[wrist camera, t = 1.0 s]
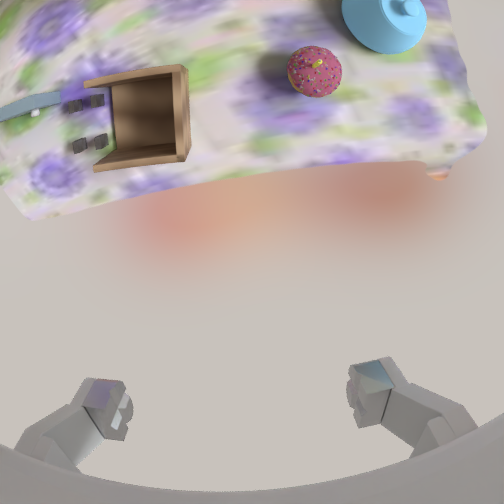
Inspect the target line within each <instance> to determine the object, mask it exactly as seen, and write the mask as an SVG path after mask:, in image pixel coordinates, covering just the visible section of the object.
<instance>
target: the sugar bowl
mask: <svg viewBox="0 0 504 504" xmlns="http://www.w3.org/2000/svg"><path fill="white" fill-rule="evenodd" d="M342 14H343V18H344V20H345V23H346V25H347V27H348V28H349V30H350V31H351V33H352V34H353V35H354V36H355V37H356V38H357V39H358V40H359V41H360V42H361V43H362V44H363V45H365V46H366V47H368V48H370V49H372V50H374V51H376V52H379V53H382V54H398V53H402V52H404V51H406V50H409V49H410V48H412V47H413V46H414V45H416V44H417V42H418V41H419V40H420V39H421V37H422V35H423V33H424V31H425V28H426V21H427V18H426V12H425V9H424V7H423V5H422V3H421V2H420V0H342Z"/></svg>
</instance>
